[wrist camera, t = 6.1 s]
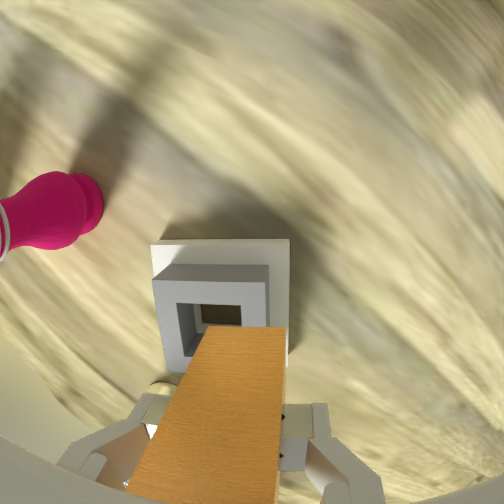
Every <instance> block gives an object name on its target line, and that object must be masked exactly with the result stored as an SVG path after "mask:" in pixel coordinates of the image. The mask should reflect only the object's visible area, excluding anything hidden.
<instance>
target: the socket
mask: <svg viewBox="0 0 504 504" xmlns="http://www.w3.org/2000/svg"><path fill="white" fill-rule="evenodd" d="M150 246H151V254H152V263H153V270H154V278H153V279H152V286H153V293H154V299H155V306H156V312H157V318H158V323H159V329H160V334H161V340H162V345H163V350H164V355H165V360H166V365H167V369H168V371H172V372H181V373H185V371H186V369H187V367H188V365H189V363H190V361H191V360H192V358H193V356H194V354H195V352H196V350H197V348H198V346H199V344H200V342H201V340H202V338H203V336H204V334H205V332H206V330H207V328H208V326H230V327H286V367H288V336H289V280H290V239H179V240H158V241H156V242H155V243H153V244H151V245H150ZM200 304H216V305H241V319H242V325H233V324H211V323H202V316H201V307H200Z"/></svg>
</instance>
